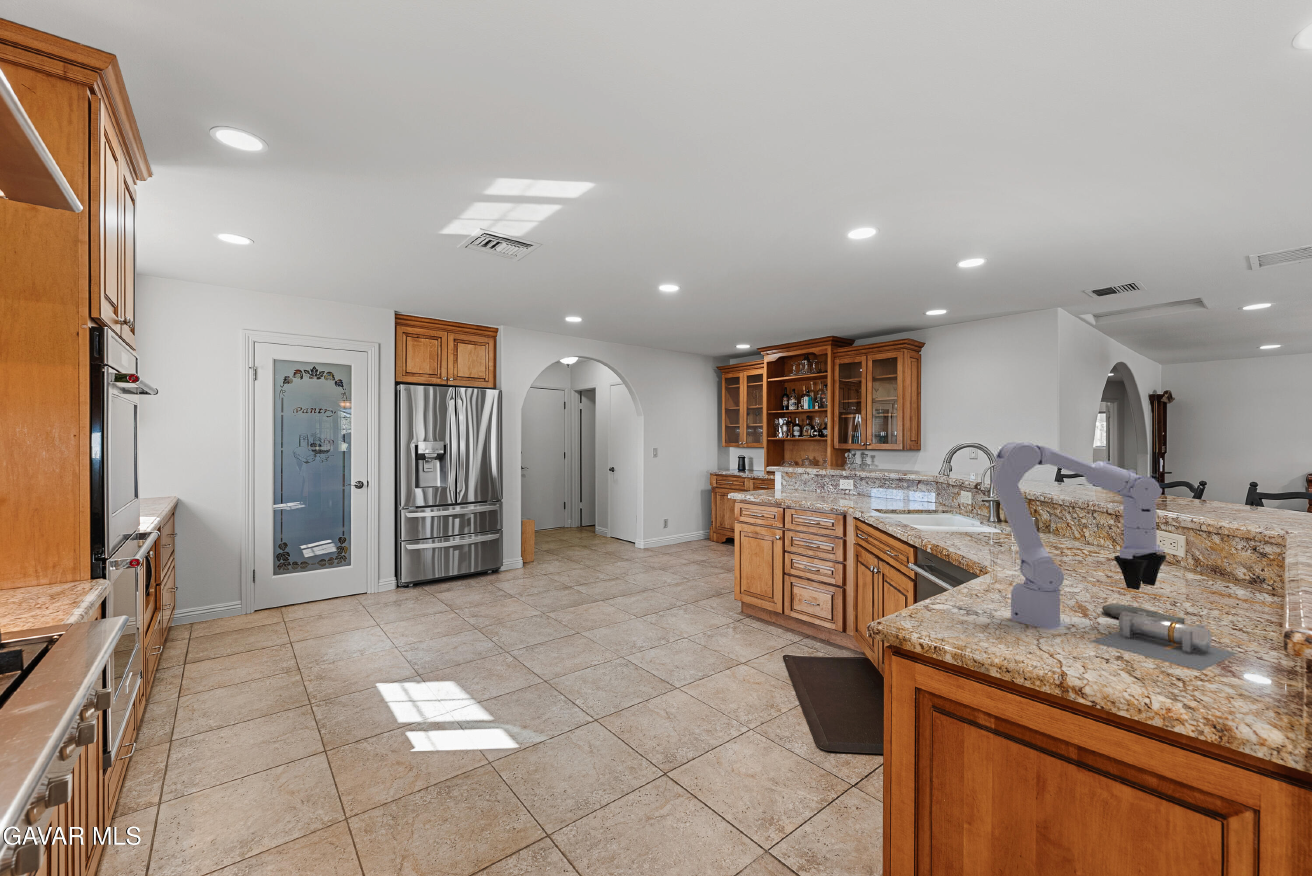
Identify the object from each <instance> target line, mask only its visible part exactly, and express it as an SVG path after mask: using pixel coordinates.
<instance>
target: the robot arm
mask: <svg viewBox="0 0 1312 876" xmlns="http://www.w3.org/2000/svg"><path fill="white" fill-rule="evenodd" d="M994 458H995V461H994V462H995V464H994V468H993V472H992V475H991V483H992V486H993V488H994V491H995V494H996V496H997V498H998V501H999V504H1000V505H1001V509H1002V511H1003V513H1004V516H1005V518H1006V521H1007V523H1008V525H1009V526H1008V527H1009V528H1010V530H1011V533H1012V535H1013V537H1014V540H1015V542H1016V544H1017V548H1018V557H1019V560H1020V564H1019V565H1020V566H1019V570H1020V573H1021V575H1022V577H1024V578H1025V579H1024V581H1023V583H1015V584H1014V585H1013V587H1012V589H1011V592H1010V610H1011V611H1010V618H1009V620H1012V621H1016V622H1019V623H1022V624H1026V625H1031V626H1034V627H1038V628H1042V629H1045V630H1049V631H1053V630H1056V629H1059V628H1063V627H1066V626H1069V623H1066V622H1065V623H1064V622H1061V588H1060V587H1061V586H1062V585H1063V583H1064V580H1065V576H1064V573H1063V571H1062V569H1061V568H1060V567H1059V566H1058V565H1057V564H1055V562H1054V560H1053V558H1052V556H1051V554H1050V553H1049V551H1048V550H1047V549H1046V548H1045V546H1044V544H1043V541H1042V539H1041V537H1040V534H1039V532H1038V530H1037V526H1036V524H1035V522H1034V520H1033V518H1032V515H1031V513H1030V509H1029V508H1028V506H1027V504H1026V500H1025V499H1024V496H1023V494H1022V491H1021V488H1020V486H1019V483H1020V482H1021V480H1022V479H1023V478H1024V476H1025V474H1026V473H1028V472H1029V471H1031V470H1032V469H1033V468H1035V467H1036V466H1037V465H1038V466H1045V465H1049V466H1053V467H1056V468H1059V469H1063V470H1065V471H1069V472H1071V473H1075V474H1078V475H1080V476H1083V477H1084V480H1086V482H1087V484H1089V485H1092V486H1095V487H1098V488H1100V489H1104V490H1106V491H1109V492H1112V493H1115V494H1118V495H1120V496H1121V497H1122V499H1123V500H1122V502H1123V503H1122V504H1123V505H1122V510H1123V511H1122V513H1123V515H1122V518H1123V519H1122V521H1123V544H1122V546H1121V548H1120V549H1119V555H1114V561H1115V563H1116V564H1117V565H1118V567H1119V570H1120V571H1121V573H1122V576H1123V580H1124V583H1125V586H1126V588H1127V589H1129V590H1130V589H1131V590H1136V591H1139V590H1140V588H1141V586H1142V585H1147V586H1154V587H1155V585H1156V583H1157V579H1158V576H1159V572H1160V569H1161V567H1162V565H1163V563H1164V562H1165V561H1166V559H1167V555H1166V554H1163V553H1164V551H1165V550H1164V548H1160V547H1161V546H1160V543H1157V542H1158V541H1157V539H1158V538H1157V503H1156V502H1157V500H1158V499H1159V498H1160V497H1161V495H1162V492H1163V488H1161V487H1160V484H1159V483H1158V481H1156V479H1154V478H1152V477H1150V476H1147V475H1146V476H1145V475H1137V474H1136V473H1137V471H1136V470H1133V469H1128V470H1127V469H1124V468H1122V467H1121V468H1120V467H1118V466H1115V465H1114V462H1112V461H1108V460H1104V461H1101V460H1098V461H1096V462H1092V463H1090V462H1087V461H1085V460H1083V459H1080V458H1078V457H1074V456H1072V455H1069V454H1067V453H1064V452H1061V451H1059V450H1056V449H1055V448H1051V447H1048V446H1044V445H1038V444H1034V443H1031V442H1029V441H1024V442H1023V441H1022V442H1013V441H1012V442H1008V443H1006V444H1004V445H1002V446H1001V448H1000V449H999V450H998V451H997V453H996V454H995V456H994Z"/></svg>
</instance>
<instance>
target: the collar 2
mask: <svg viewBox="0 0 1312 876" xmlns="http://www.w3.org/2000/svg"><path fill="white" fill-rule="evenodd" d="M1195 627H1200V628H1205V629H1207V625H1204V624H1201V623H1198V624H1196V625H1195ZM1182 645H1183V652H1184V653H1188V654H1192V653H1194V652H1197V651H1199V649H1195V648H1193V634H1192V631H1191V630H1186V629H1184V630H1182Z"/></svg>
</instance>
